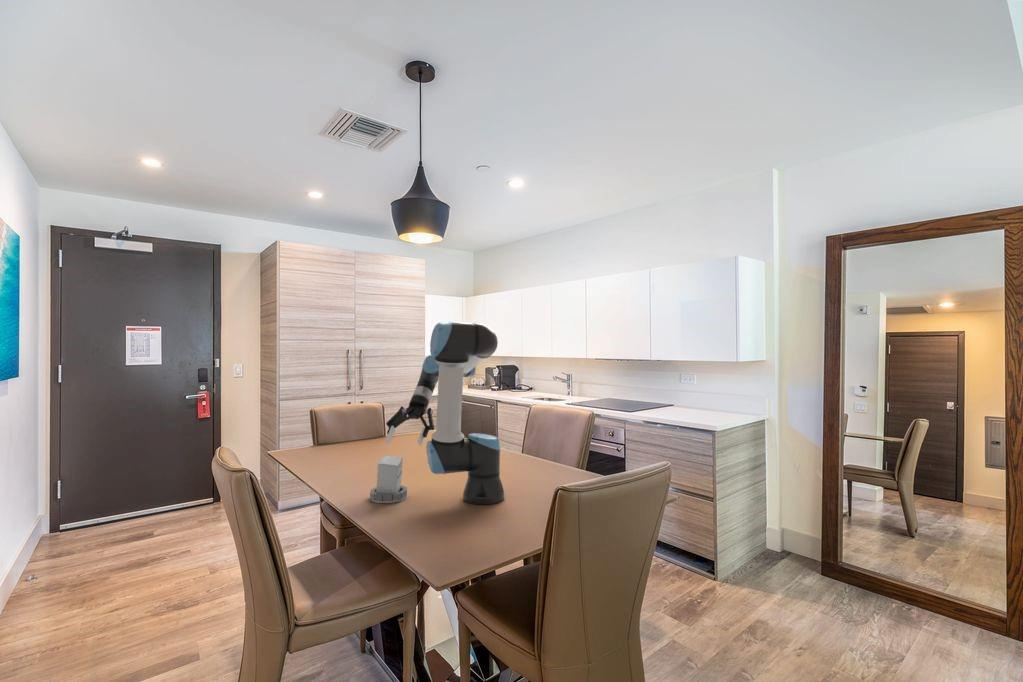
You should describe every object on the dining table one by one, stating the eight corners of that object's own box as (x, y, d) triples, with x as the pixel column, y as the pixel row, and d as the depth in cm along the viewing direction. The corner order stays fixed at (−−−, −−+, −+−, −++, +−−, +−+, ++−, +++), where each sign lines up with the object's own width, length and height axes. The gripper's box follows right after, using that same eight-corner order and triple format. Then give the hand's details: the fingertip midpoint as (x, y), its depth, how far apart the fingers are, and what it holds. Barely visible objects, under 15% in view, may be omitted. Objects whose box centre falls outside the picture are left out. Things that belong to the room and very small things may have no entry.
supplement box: (395, 498, 172) (397, 465, 170) (375, 495, 172) (377, 463, 170) (401, 488, 179) (403, 457, 177) (381, 486, 180) (383, 454, 177)
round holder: (413, 498, 175) (413, 490, 175) (379, 506, 166) (379, 497, 167) (397, 490, 185) (397, 482, 185) (364, 497, 176) (364, 488, 177)
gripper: (450, 406, 200) (435, 449, 185) (396, 404, 206) (378, 446, 192) (445, 394, 195) (430, 438, 180) (390, 393, 201) (371, 435, 187)
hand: (403, 442), depth 186 cm, fingers open, 13 cm apart
